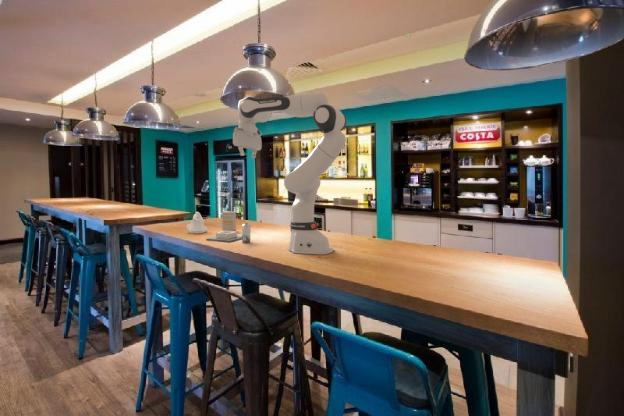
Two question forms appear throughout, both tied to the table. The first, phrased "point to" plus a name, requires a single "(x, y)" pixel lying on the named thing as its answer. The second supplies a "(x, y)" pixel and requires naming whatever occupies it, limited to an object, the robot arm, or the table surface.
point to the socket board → (225, 236)
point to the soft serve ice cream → (196, 224)
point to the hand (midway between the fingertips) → (248, 156)
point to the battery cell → (246, 233)
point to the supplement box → (229, 221)
